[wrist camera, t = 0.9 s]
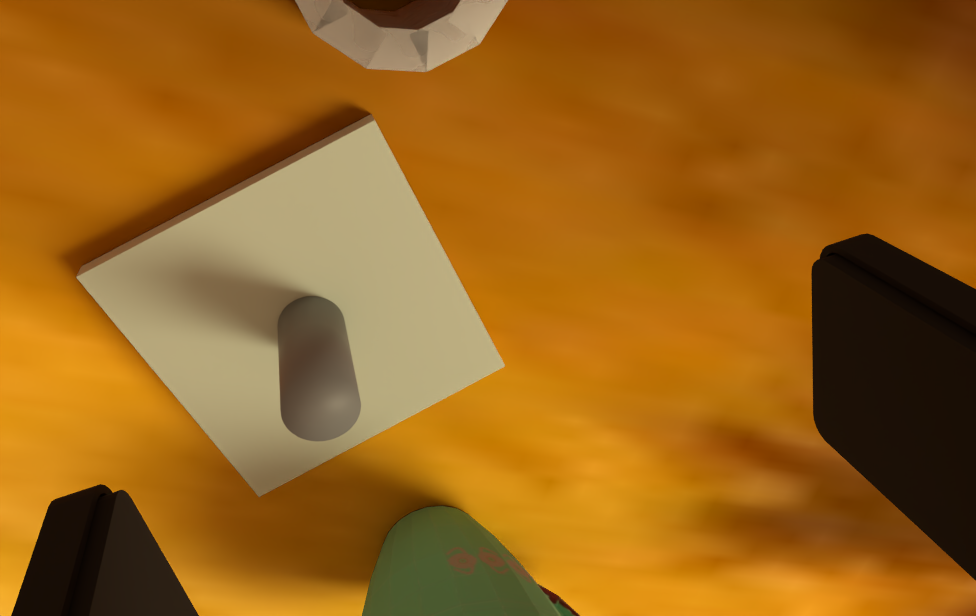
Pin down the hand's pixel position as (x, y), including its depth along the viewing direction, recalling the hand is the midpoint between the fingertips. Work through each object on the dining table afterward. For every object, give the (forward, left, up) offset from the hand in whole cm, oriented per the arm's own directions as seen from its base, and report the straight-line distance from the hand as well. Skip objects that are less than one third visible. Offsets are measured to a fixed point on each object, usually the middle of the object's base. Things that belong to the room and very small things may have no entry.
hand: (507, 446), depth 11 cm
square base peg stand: (+5, +7, -21) cm, 23 cm away
